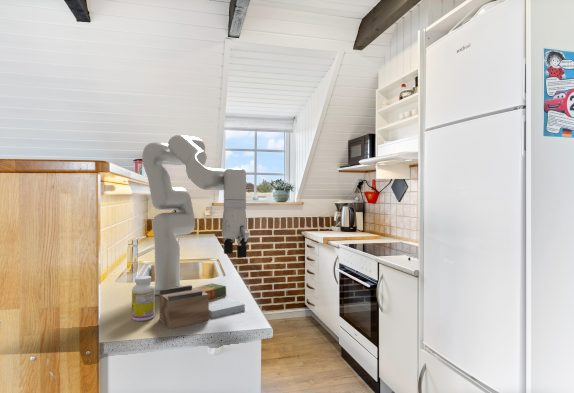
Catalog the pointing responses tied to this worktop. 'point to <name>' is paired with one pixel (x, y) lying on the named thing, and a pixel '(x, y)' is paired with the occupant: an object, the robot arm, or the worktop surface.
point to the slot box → (183, 306)
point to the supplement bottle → (143, 299)
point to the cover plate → (225, 308)
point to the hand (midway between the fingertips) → (234, 255)
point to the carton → (213, 290)
